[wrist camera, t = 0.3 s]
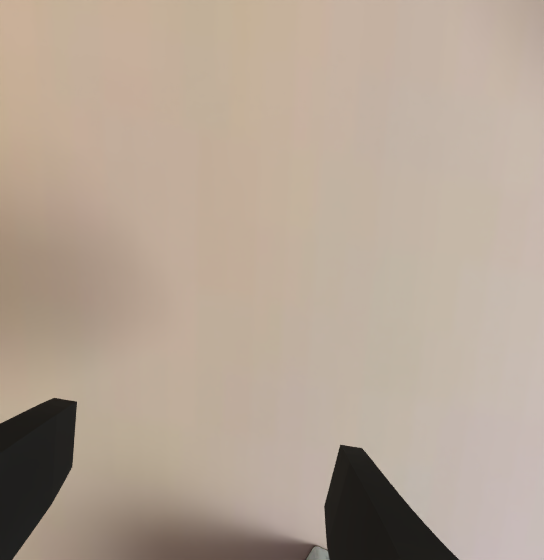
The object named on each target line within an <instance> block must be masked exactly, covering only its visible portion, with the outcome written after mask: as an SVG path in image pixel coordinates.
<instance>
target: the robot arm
mask: <svg viewBox="0 0 544 560" xmlns="http://www.w3.org/2000/svg"><path fill="white" fill-rule="evenodd" d="M76 407H77V402H75V401H69V400H63V399H57V398H53V399H51V400H48V401H46V402H44V403H42V404H39V405H37V406H35V407H33V408H31V409H29V410H27V411H25V412H23V413H21V414H19V415H17V416H15V417H13V418H11V419H9V420H7V421H5V422H3V423H1V424H0V560H12V559H13V558H14V556H15V555H16V554H17V552H18V551H19V549H20V548H21V547H22V545H23V544H24V542H25V541H26V540H27V538H28V537H29V535H30V534H31V533H32V531H33V530H34V528H35V527H36V526H37V524H38V523H39V521H40V520H41V519H42V517H43V516H44V514H45V513H46V511H47V510H48V509H49V507H50V506H51V504H52V502H53V501H54V499H55V497H56V495H57V494H58V492H59V490H60V488H61V487H62V485H63V483H64V481H65V479H66V477H67V475H68V474H69V472H70V470H71V468H72V462H73V449H74V435H75V421H76ZM324 507H325V524H326V538H327V548H328V554H329V560H459V559H458V558H457V557H456V556H455V555H454V554H453V553H452V552H451V551H450V550H449V549H448V548H447V547H446V546H445V545H444V544H443V543H442V542H441V541H440V540H439V539H438V538H437V537H436V535H435V534H434V533H433V532H432V531H431V530H430V529H429V528H428V527H427V526H426V525H425V524H424V523H423V521H422V520H421V519H420V518H419V517H418V516H417V515H416V513H415V512H414V511H413V510H412V509H411V508H410V506H409V505H408V504H407V503H406V502H405V501H404V499H403V498H402V497H401V496H400V495H399V493H398V492H397V491H396V490H395V488H394V487H393V486H392V485H391V484H390V482H389V481H388V480H387V478H386V477H385V476H384V475H383V473H382V472H381V471H380V470H379V468H378V467H377V466H376V465H375V463H374V462H373V461H372V460H371V458H370V457H369V456H368V455H367V453H366V452H365V451H364V450H363V449H362V448H357V447H351V446H345V445H340V448H339V452H338V456H337V460H336V464H335V468H334V471H333V475H332V479H331V483H330V487H329V491H328V495H327V498H326V502H325V506H324Z"/></svg>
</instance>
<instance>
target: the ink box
mask: <svg viewBox="0 0 544 560" xmlns="http://www.w3.org/2000/svg"><path fill="white" fill-rule="evenodd" d="M306 560H329V554H328V551H327V550H325V549H323V548H321V547H318V546H315V547H314V548H313V549H312V551H311V552H310V554H309V556H308V558H307V559H306Z"/></svg>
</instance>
